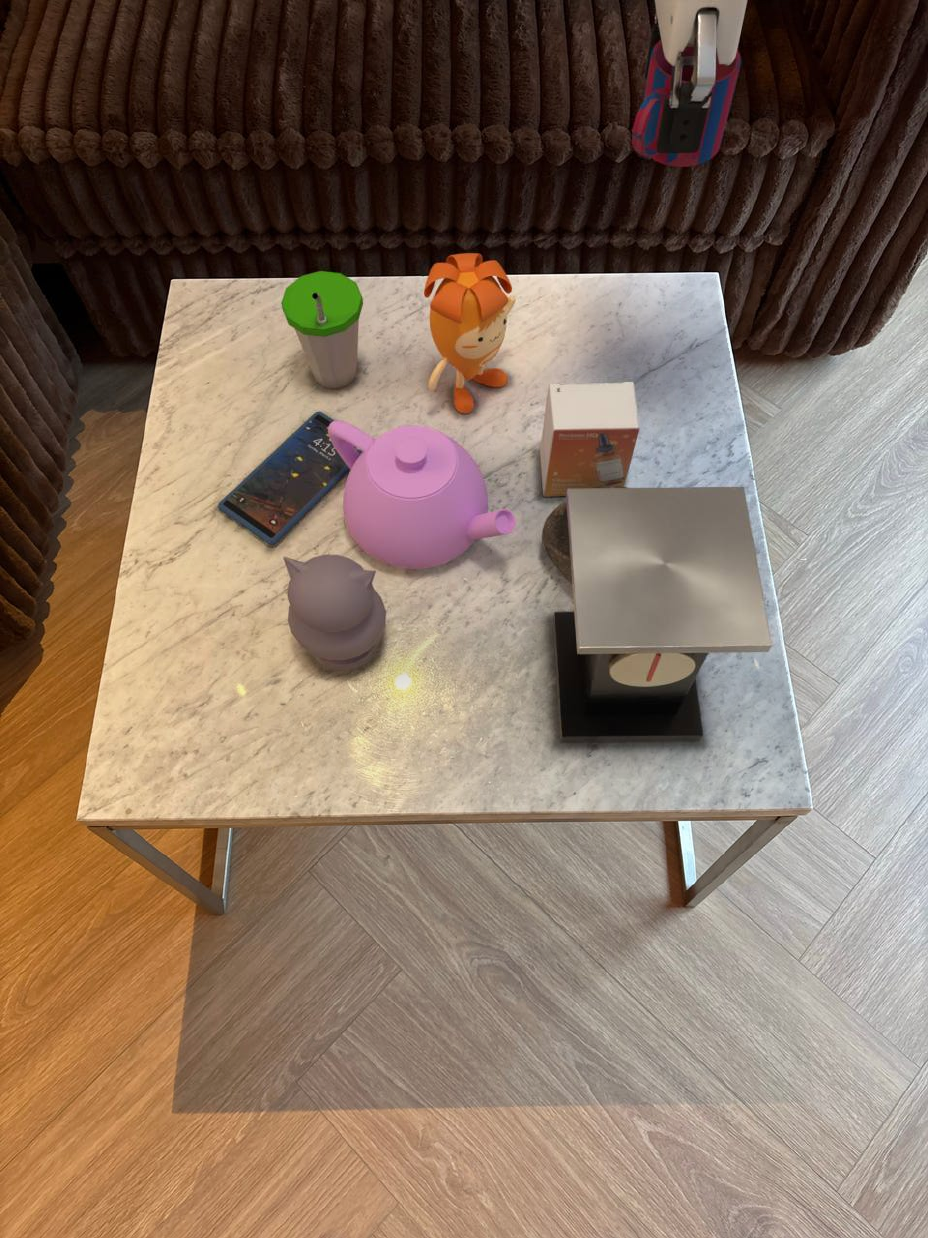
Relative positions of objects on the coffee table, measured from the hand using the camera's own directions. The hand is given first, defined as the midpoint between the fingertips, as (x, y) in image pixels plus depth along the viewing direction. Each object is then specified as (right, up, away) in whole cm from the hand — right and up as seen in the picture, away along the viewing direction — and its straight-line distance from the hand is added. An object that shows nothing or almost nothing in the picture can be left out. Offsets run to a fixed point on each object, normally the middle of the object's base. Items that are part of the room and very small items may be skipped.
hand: (670, 112), depth 74 cm
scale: (-2, -45, +10) cm, 46 cm away
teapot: (-20, -30, +18) cm, 40 cm away
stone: (-3, -34, +16) cm, 38 cm away
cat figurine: (-27, -42, +12) cm, 51 cm away
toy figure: (-16, -15, +26) cm, 34 cm away
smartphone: (-33, -26, +20) cm, 46 cm away
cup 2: (0, -2, +2) cm, 3 cm away
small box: (-5, -25, +21) cm, 33 cm away
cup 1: (-30, -13, +27) cm, 42 cm away
